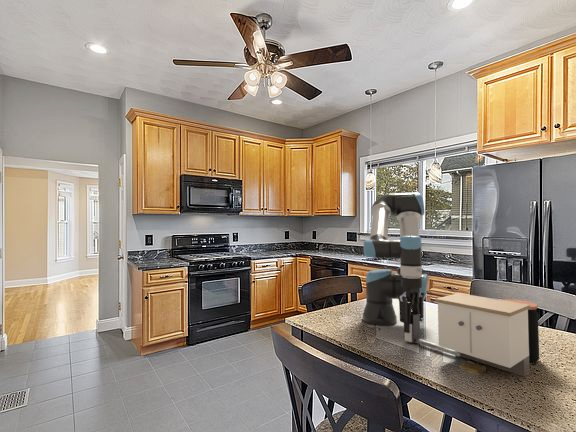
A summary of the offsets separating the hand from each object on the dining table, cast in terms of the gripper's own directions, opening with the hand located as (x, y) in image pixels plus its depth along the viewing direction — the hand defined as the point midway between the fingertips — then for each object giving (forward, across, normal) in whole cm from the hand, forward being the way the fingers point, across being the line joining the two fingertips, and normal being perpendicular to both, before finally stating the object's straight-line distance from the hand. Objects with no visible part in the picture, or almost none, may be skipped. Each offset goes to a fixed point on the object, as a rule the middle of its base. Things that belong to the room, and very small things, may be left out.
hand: (412, 339), depth 119 cm
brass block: (+2, -5, -24) cm, 24 cm away
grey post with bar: (0, 0, -8) cm, 8 cm away
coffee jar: (+1, +16, -29) cm, 33 cm away
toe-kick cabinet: (+1, -1, -25) cm, 25 cm away
